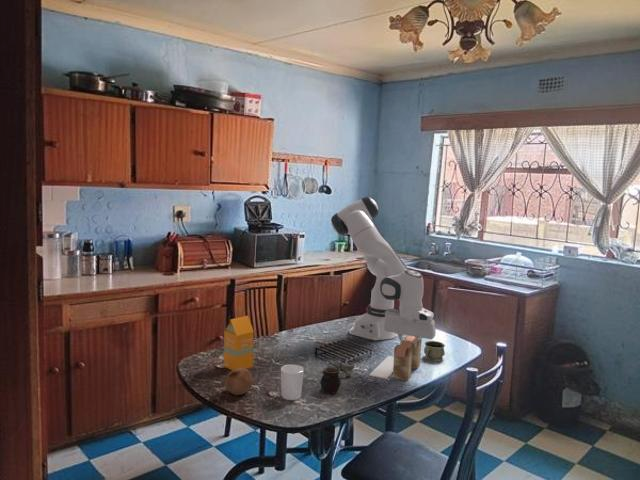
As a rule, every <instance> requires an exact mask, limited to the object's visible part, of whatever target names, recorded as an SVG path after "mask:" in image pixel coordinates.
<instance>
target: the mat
mask: <svg viewBox="0 0 640 480" xmlns="http://www.w3.org/2000/svg"><path fill="white" fill-rule="evenodd" d="M393 364H394V356H392V355H391V356H390V355H388V356H387V357H386V358H385V359H384V360H383V361H381V363H379V364H378V366H377V367H376V368H375V369H374V370H372V371H371V372H370V374H369V377H373V378H377V379H382V380H386V381H387V380H388V379H389V377H391V376H392V375H393Z"/></svg>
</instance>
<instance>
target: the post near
mask: <svg viewBox="0 0 640 480" xmlns="http://www.w3.org/2000/svg"><path fill="white" fill-rule="evenodd" d="M399 345H400V344H397V345H396V346H395V347H394V351H393V357H394V364H393V373H392V378H393V379H397V380H402V381H405V382H408V381H409V380H410V379H411V377H412V375H411V374H412V368H411V364H412V349H413V348H412V347H410V348H409V349H408V350H407V354H406V355H405V356H404V357H398V356H396V348H397V347H398V346H399Z"/></svg>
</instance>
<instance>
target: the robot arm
mask: <svg viewBox="0 0 640 480" xmlns="http://www.w3.org/2000/svg"><path fill="white" fill-rule="evenodd" d="M378 216H379V206H378V203H377V202H376V201H375V200H374V199H373V198H372V197H370V196H364V197H362V198H361V199H358V200H356V201H353V202H351V203H350V204H348V205H347V206H346V207H344V208H342V209H341V210H339V211H338V212H336V213H334V214H333V216H331V219H330V221H331V227H332V229H333V230H334V231H335V232H336V234H338V235H340V236H346V235H350V237H351V239H352V242H353V244H354V245H355V247H356V248H357V249H358V251H360V253H362V254H363V257H364V259H365V263H366V267H367V269H368V270H369V272H370V273H371V274H372V275H373V276H376V279H375V284H374V287H372V289H371V292H370V293H371V295H370V296H371V297H370V304H368V305H367V307H366V308H365V311H366V312H365V313H364V314H362V315H360V316H359V317H357V319H355V321H354V325H353V326H352V327H351V328H350V329H349V331H348V333H349V335H352V336H357V337H360V338H365V339H368V340H372V341H380V340H382V341H383V340H391V339H394V338H395V337H396V334H397V337H398V339H399V341H400V344H401V343H402V342H403V341H404V340H405V339H404V338H403V335H404V336H407V335H409V336H414V337H415V339H416V341H415V342H412V347H416V345H417V342H418V340H419V339H420V338H422V339H426V340H433V339H434V338H435V337H436V333H437V332H436V328H437V327H436V322H435V319H434V315H435V314H434V312H433V311H430V310H428V309H426V308H424V307H423V302H422V300H423V296H424V290H425V289H424V286H425V285H424V278H423V275H422V274H421V272H418V271H417V270H411V269H409V268H408V267H407V265H406V264H405V263H404V261H403V260H402V259H401V257H400V256H399V255H398V253H397V252H396V250H395V249H394V248H393V246H392V245H390V243H388V241H386V240H385V239H384V237H383V236H382V235H381V234H380V232H379V230H378V229H377V227H376V226H375V224H374V222H373V221H372V220H374V219H376V218H377V217H378ZM395 301H398V302H399V308H398V309H395ZM400 344H399V345H400Z"/></svg>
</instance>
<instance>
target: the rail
mask: <svg viewBox="0 0 640 480" xmlns="http://www.w3.org/2000/svg"><path fill="white" fill-rule="evenodd" d="M403 340H404V341H403V342H402V343H401V344H398V345H399V346H398V347H397V348H396V356H398V357H404V356H405V355H406V354H407V350H408V349H409V348H410V347H412V342H415V341H416V339H415V337H414V336H408V337H407V338H406V339H405V338H404V339H403ZM412 348H413V347H412Z"/></svg>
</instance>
